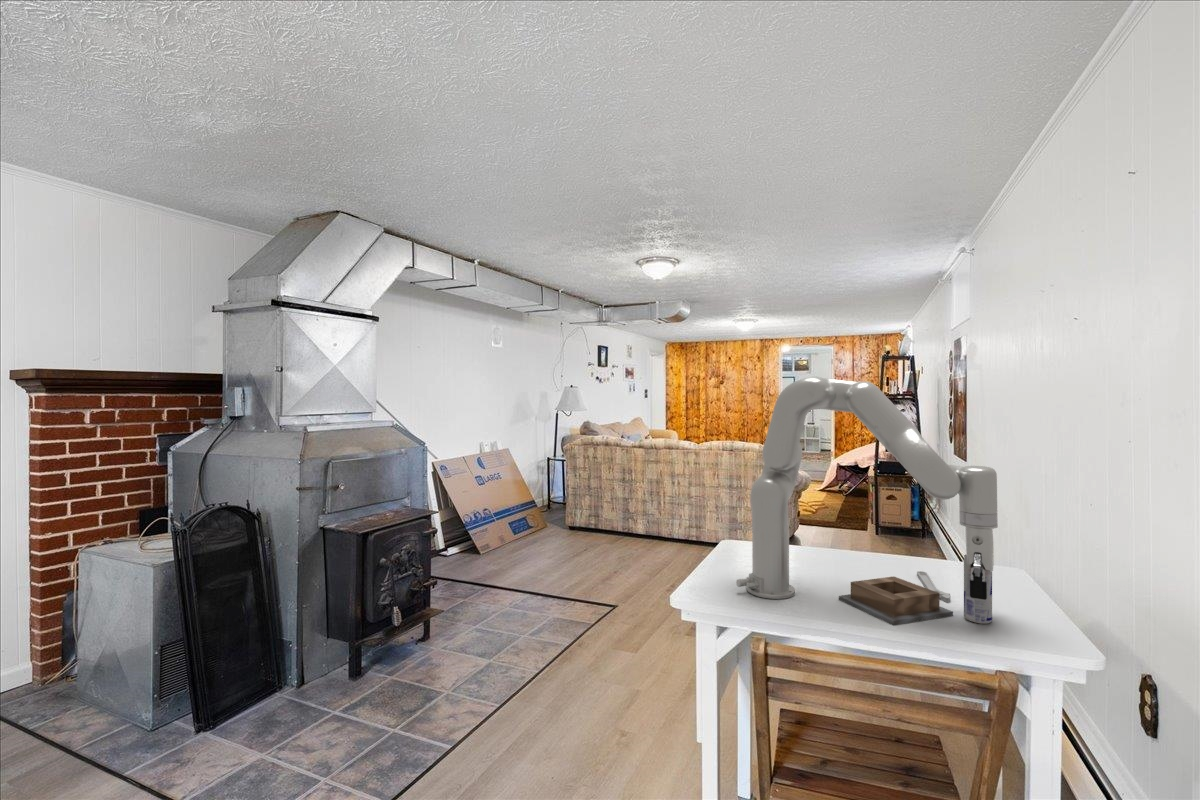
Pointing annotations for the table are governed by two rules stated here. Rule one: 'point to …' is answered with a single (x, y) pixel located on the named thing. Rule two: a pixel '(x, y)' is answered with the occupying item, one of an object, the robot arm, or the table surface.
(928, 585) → the adjustable wrench
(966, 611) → the beverage can
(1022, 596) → the table surface
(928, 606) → the holder
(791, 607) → the table surface
